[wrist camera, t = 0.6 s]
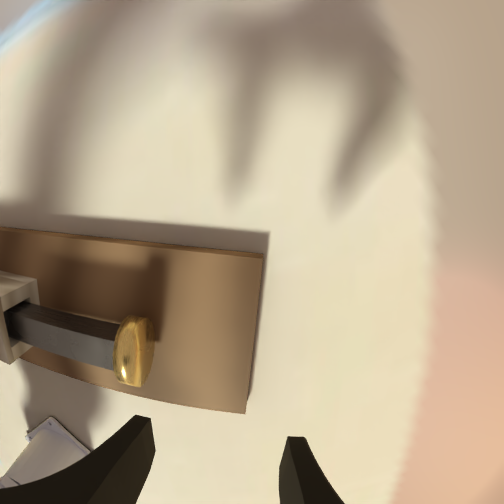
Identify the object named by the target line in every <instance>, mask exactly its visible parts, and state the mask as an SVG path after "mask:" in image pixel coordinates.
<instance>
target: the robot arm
mask: <svg viewBox="0 0 504 504" xmlns="http://www.w3.org/2000/svg"><path fill="white" fill-rule="evenodd" d="M25 438H26V440H27V441H28V442H29V444H28V445H27V447H26V448H25V449H24V450H23V452H22V453H21V454H20V456H19V457H18V458H17V459H16V461H15V462H14V463H13V464H12V466H11V467H10V468H9V470H8V471H7V472H6V474H5V475H4V476H3V477H1V478H0V504H136V502H137V499H138V497H139V495H140V493H141V490H142V488H143V486H144V483H145V481H146V479H147V477H148V474H149V472H150V469H151V465H152V462H153V458H154V455H155V451H156V450H155V444H154V437H153V431H152V424H151V418H148V417H143V416H139V415H135V416H133V417H132V418H131V419H130V420H129V421H128V422H127V423H126V424H125V425H124V426H123V427H121V428H120V429H119V430H118V431H117V432H116V433H115V434H114V435H112V436H111V437H110V438H109V439H107V440H106V441H105V442H104V443H103V444H101V445H100V446H99V447H97V448H96V449H95V450H93V451H92V452H90V451H89V450H88V449H87V448H86V447H84V446H83V445H82V444H81V443H80V442H79V441H78V440H77V439H75V438H74V437H73V436H72V435H71V434H70V433H69V432H68V431H67V430H66V429H65V428H64V427H63V426H62V425H61V424H59V423H58V422H57V421H56V420H55V419H54V418H53V417H49V418H48V419H47V420H45V421H44V422H43V423H41V424H40V425H39V426H38V427H36V428H35V429H34V430H32V431H31V432H30V433H29V434H27V435H26V436H25ZM279 496H280V504H345V503H344V502H343V501H342V500H341V498H340V497H339V496H338V494H337V493H336V492H335V490H334V489H333V487H332V486H331V484H330V483H329V481H328V480H327V478H326V477H325V475H324V473H323V472H322V470H321V468H320V467H319V465H318V463H317V461H316V459H315V457H314V455H313V453H312V451H311V449H310V447H309V445H308V442H307V440H306V438H305V437H291V436H288V437H287V441H286V445H285V449H284V452H283V456H282V460H281V463H280V467H279Z"/></svg>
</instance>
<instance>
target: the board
mask: <svg viewBox="0 0 504 504" xmlns="http://www.w3.org/2000/svg"><path fill="white" fill-rule="evenodd" d="M262 264H263V254H259V253H249V252H239V251H229V250H220V249H210V248H200V247H191V246H181V245H171V244H161V243H152V242H142V241H132V240H123V239H113V238H103V237H94V236H84V235H74V234H65V233H55V232H46V231H36V230H26V229H17V228H7V227H0V360H1V361H3V362H5V363H7V364H9V365H10V364H11V363H13V362H14V361H15V360H16V359H17V358H22V359H24V360H26V361H29V362H31V363H34V364H36V365H39V366H41V367H44V368H47V369H49V370H52V371H55V372H58V373H60V374H63V375H66V376H69V377H72V378H75V379H78V380H81V381H85V382H88V383H91V384H94V385H98V386H101V387H105V388H108V389H112V390H116V391H119V392H123V393H127V394H131V395H135V396H140V397H144V398H148V399H153V400H158V401H162V402H167V403H173V404H178V405H183V406H189V407H195V408H202V409H208V410H215V411H223V412H231V413H240V414H245V412H246V404H247V396H248V388H249V379H250V371H251V362H252V354H253V345H254V336H255V327H256V319H257V310H258V301H259V292H260V282H261V273H262ZM22 301H26V302H29V303H33V304H37V305H40V306H44V307H48V308H51V309H55V310H59V311H63V312H67V313H71V314H76V315H80V316H84V317H88V318H93V319H97V320H102V321H107V322H112V323H116V324H121V323H122V321H123V320H124V319H125V318H126V317H127V316H129V315H133V316H139V317H145V318H149V319H150V320H151V321H152V324H153V327H154V333H155V348H154V357H153V362H152V366H151V370H150V373H149V376H148V378H147V380H146V382H145V383H144V384H143V385H142V386H141V387H135V386H131V385H127V384H123V383H120V382H119V381H118V380H117V378H116V376H115V373H114V371H112V370H108V369H105V368H101V367H97V366H94V365H90V364H87V363H83V362H80V361H76V360H73V359H70V358H67V357H64V356H60V355H57V354H54V353H51V352H48V351H46V350H43V349H40V348H37V347H34V346H32V345H29V344H26V343H24V342H21V341H18V340H16V339H13V338H11V337H8V332H7V328H6V323H5V318H4V313H3V312H4V311H6V310H7V309H9V308H11V307H13V306H14V305H16V304H18V303H20V302H22Z"/></svg>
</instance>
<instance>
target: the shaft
mask: <svg viewBox="0 0 504 504" xmlns="http://www.w3.org/2000/svg"><path fill="white" fill-rule="evenodd" d="M3 313H4V318H5V323H6V328H7V332H8V337H11V338H13V339H16V340H18V341H21V342H24V343H26V344H29V345H32V346H34V347H37V348H40V349H43V350H46V351H48V352H51V353H54V354H57V355H60V356H64V357H67V358H70V359H73V360H76V361H80V362H83V363H87V364H90V365H94V366H97V367H101V368H105V369H108V370H112V371H114V373H115V376H116V378H117V380H118V381H119V382H120V383H123V384H127V385H131V386H135V387H141V386H142V385H143V384H144V383H145V382H146V380H147V378H148V376H149V373H150V370H151V366H152V362H153V357H154V348H155V333H154V327H153V324H152V321H151V320H150V319H149V318H145V317H139V316H133V315H129V316H127V317H126V318H125V319H124V320H123V321H122V323H121V324H116V323H112V322H107V321H102V320H97V319H93V318H88V317H84V316H80V315H76V314H71V313H67V312H63V311H59V310H55V309H51V308H48V307H44V306H40V305H37V304H33V303H29V302H26V301H22V302H20V303H18V304H16V305H14V306H13V307H11V308H9V309H7V310H6V311H4V312H3Z"/></svg>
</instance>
